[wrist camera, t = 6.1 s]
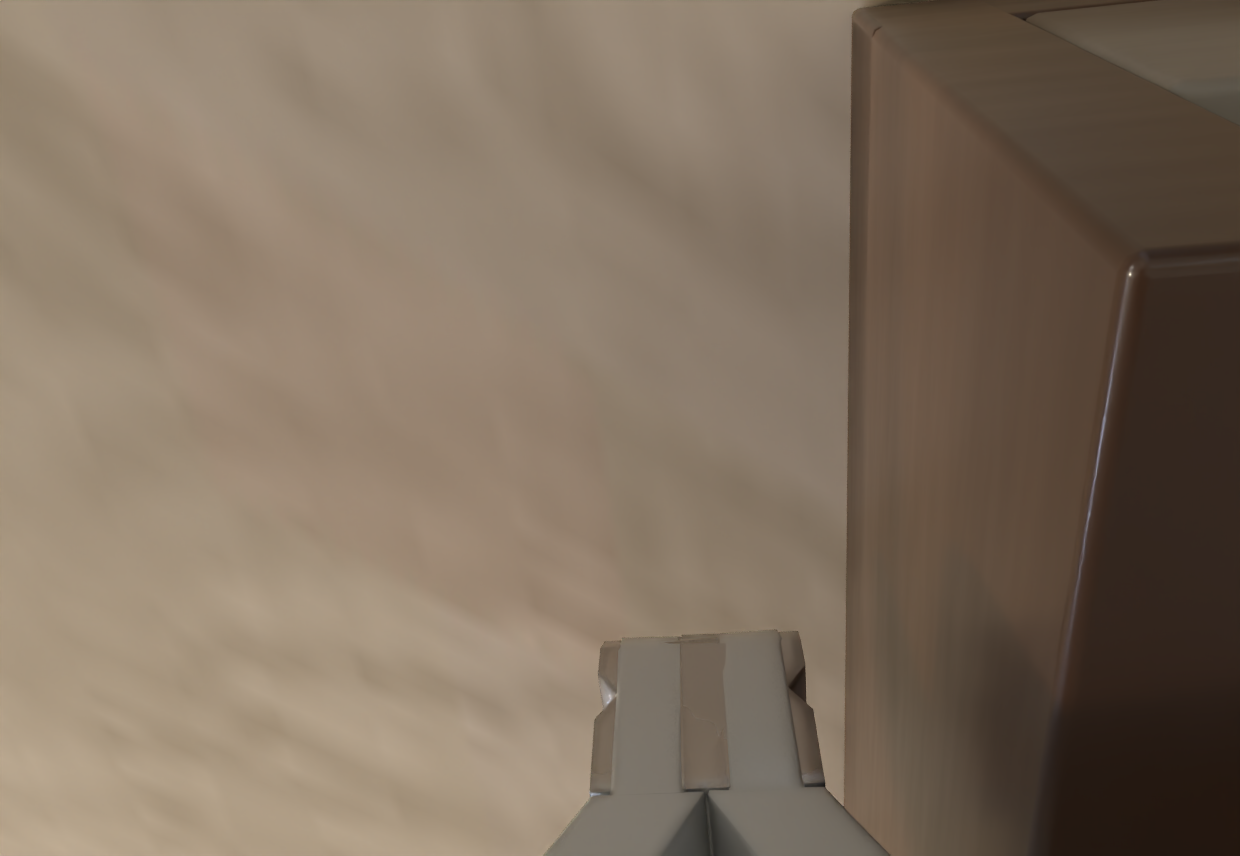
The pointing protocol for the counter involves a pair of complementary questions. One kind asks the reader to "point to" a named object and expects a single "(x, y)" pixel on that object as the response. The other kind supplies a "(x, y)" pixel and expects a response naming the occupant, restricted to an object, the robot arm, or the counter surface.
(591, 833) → the robot arm
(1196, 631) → the tray
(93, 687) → the counter surface
